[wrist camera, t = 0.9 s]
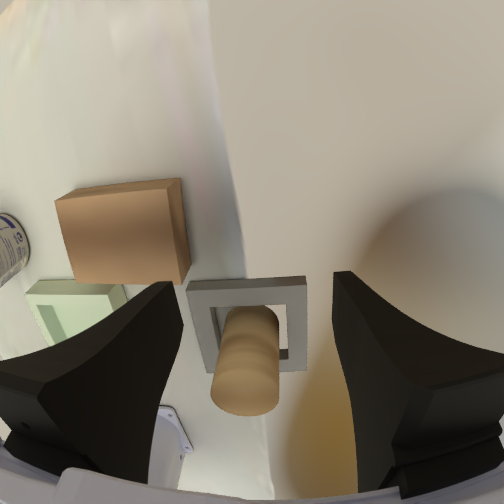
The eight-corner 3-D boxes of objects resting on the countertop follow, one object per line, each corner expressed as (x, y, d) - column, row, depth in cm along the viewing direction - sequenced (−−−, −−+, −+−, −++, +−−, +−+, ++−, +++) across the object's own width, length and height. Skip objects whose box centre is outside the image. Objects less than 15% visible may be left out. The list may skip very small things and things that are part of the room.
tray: (151, 364, 26) (143, 383, 24) (74, 357, 27) (64, 372, 25) (120, 278, 23) (107, 294, 20) (38, 280, 23) (24, 294, 21)
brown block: (192, 262, 22) (181, 284, 19) (95, 263, 23) (76, 282, 20) (181, 176, 19) (166, 188, 17) (77, 188, 20) (54, 200, 17)
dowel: (280, 343, 24) (280, 415, 18) (229, 345, 25) (216, 415, 18) (277, 301, 23) (277, 374, 16) (221, 304, 23) (204, 375, 17)
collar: (305, 360, 25) (306, 370, 24) (209, 362, 26) (207, 373, 25) (305, 275, 21) (306, 284, 20) (189, 281, 22) (185, 290, 21)
